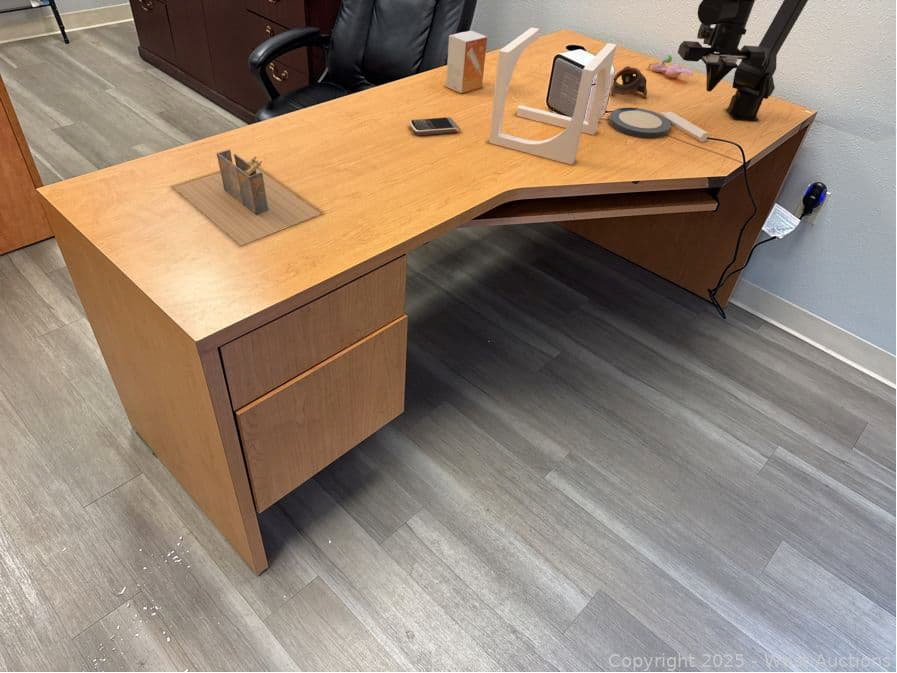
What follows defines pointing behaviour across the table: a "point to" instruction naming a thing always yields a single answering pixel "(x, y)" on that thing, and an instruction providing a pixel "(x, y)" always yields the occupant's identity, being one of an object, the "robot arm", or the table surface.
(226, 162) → the architectural model on board
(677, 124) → the beige long bar
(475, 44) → the small box
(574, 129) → the white open stand
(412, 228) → the table surface
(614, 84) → the brown curved piece
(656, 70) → the pink elongated piece
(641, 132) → the plate
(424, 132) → the cell phone
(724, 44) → the robot arm
